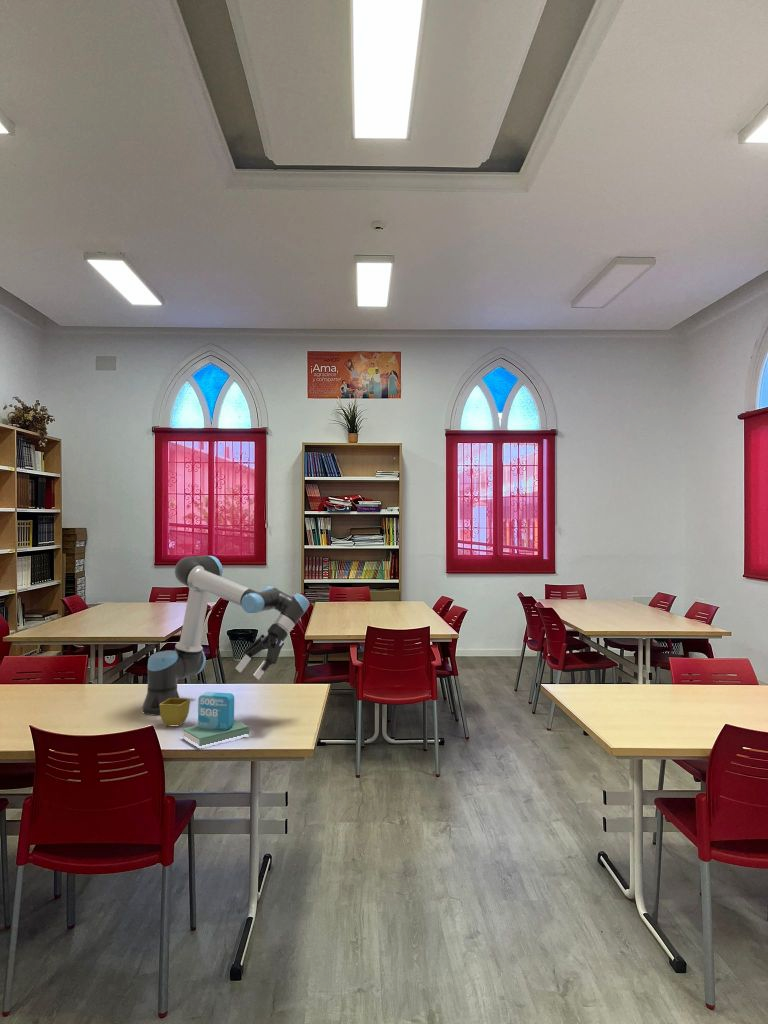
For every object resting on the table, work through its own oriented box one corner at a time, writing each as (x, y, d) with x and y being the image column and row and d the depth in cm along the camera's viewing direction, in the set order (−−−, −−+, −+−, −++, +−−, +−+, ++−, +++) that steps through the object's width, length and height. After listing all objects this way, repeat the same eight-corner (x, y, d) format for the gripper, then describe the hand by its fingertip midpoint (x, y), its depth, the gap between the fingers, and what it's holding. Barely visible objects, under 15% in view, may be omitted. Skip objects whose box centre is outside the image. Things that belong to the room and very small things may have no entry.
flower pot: (158, 727, 229) (158, 703, 229) (169, 720, 238) (169, 697, 238) (180, 729, 228) (180, 704, 228) (190, 721, 237) (191, 698, 237)
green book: (182, 739, 217) (182, 728, 217) (230, 728, 230) (230, 717, 230) (199, 750, 207) (199, 738, 207) (249, 737, 219) (249, 726, 220)
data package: (197, 728, 218) (198, 694, 218) (203, 724, 222) (204, 691, 222) (228, 730, 215) (229, 696, 216) (234, 726, 220) (234, 693, 220)
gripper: (304, 639, 230) (270, 686, 220) (269, 630, 249) (237, 673, 239) (292, 627, 227) (257, 674, 217) (258, 618, 245) (224, 662, 235)
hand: (246, 673), depth 228 cm, fingers open, 13 cm apart
